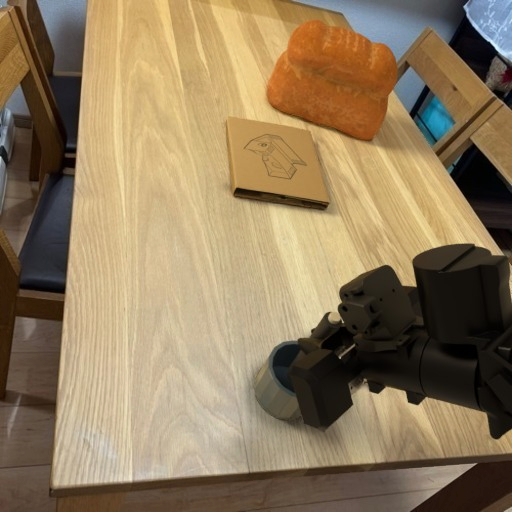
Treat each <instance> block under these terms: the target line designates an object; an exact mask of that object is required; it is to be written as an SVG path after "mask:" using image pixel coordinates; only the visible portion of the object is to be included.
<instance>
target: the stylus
mask: <svg viewBox="0 0 512 512" xmlns="http://www.w3.org/2000/svg"><path fill="white" fill-rule="evenodd" d="M342 323H343V320H342V318H341V316H340V314H339V313H338V311H327V312H325V313H324V314H323V316H322V318H321V319H320V320H319V322H318V324H317V325H316V327H314V328H315V330H314V331H313V333H310V336H309V337H308V338H318V339H326V338H327V337H328V336H330V335H331V334H333V333H334V332H335V331H337V330H338V329H339V328H340V327H341V326H342ZM305 356H306V354H305V353H304V352H303V351H302V350H300V352H299V353H298V355H297V356H296V358H295V359H294V361H293V362H292V364H291V365H290V367H289V368H288V370H287V372H286V375H287V378H288V379H289V380H290V381H292V380H291V376H290V373H291V370H292V367H293V365H294V364H296V363H297V362H298V361H300V360H301V359H302V358H304V357H305Z"/></svg>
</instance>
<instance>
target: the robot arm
mask: <svg viewBox="0 0 512 512" xmlns="http://www.w3.org/2000/svg"><path fill="white" fill-rule="evenodd" d="M411 264H412V269H413V275H414V280H415V285H416V286H414V285H413V286H412V285H403V283H402V282H401V280H400V278H399V277H398V275H397V272H396V271H395V269H394V268H393V267H392V266H391V265H389V264H383V265H381V266H378V267H376V268H373V269H371V270H367V271H365V272H362V273H360V274H358V275H357V276H356V277H354V278H352V280H349V281H348V282H346V283H344V284H343V285H342V286H341V287H340V288H339V291H338V296H339V300H340V301H341V302H340V303H339V304H338V305H337V313H338V314H339V315H340V316H341V319H342V326H341V327H340V328H339V329H338V330H337V331H335V332H334V333H333V334H331V335H330V336H328V337H327V338H326V339H318V338H309V337H299V338H297V340H296V341H297V342H298V346H299V348H300V349H301V350H302V351H303V352H304V353H305V354H306V356H305V357H304V358H302V359H301V360H300V361H298V362H297V363H296V364H294V365H293V367H292V370H291V373H290V376H291V380H292V383H293V387H294V390H295V394H296V398H297V401H298V405H299V408H300V412H301V416H300V417H301V420H302V423H303V425H305V426H309V427H310V428H313V429H316V430H318V431H321V432H324V433H325V432H326V431H328V429H330V428H331V426H333V424H335V423H336V422H337V421H338V420H339V419H340V418H341V417H342V416H344V414H346V413H347V412H348V411H349V410H350V409H351V408H352V407H353V406H354V400H353V397H352V396H353V395H354V394H356V393H357V392H358V391H359V390H360V389H361V388H362V387H363V385H364V384H365V382H364V379H366V380H367V382H366V383H367V388H368V391H369V393H371V394H372V393H373V394H375V395H380V393H381V392H382V391H384V390H385V389H386V388H391V389H395V390H397V391H402V392H405V395H406V401H407V403H408V404H411V405H414V406H420V404H421V403H422V402H423V401H424V400H425V399H426V398H428V399H431V400H432V399H433V400H435V401H439V402H444V403H447V404H452V405H455V406H459V407H463V408H466V409H467V408H468V409H470V410H475V411H478V412H482V413H485V414H486V418H487V424H488V425H487V426H488V431H489V435H490V437H491V438H492V439H493V440H500V439H501V438H502V437H503V436H504V435H506V434H507V433H508V432H510V431H512V293H511V292H512V291H511V285H510V279H511V265H510V258H509V257H508V256H507V255H503V254H502V255H501V254H493V253H492V251H491V250H490V249H488V248H486V247H483V246H478V245H476V244H475V243H470V242H469V243H468V242H464V243H451V244H446V245H441V246H436V247H432V248H429V249H427V250H424V251H422V252H420V253H418V254H416V255H415V256H414V257H413V258H412V261H411ZM315 328H316V327H313V328H312V329H311V330H310V334H312V333H313V331H314V330H315Z"/></svg>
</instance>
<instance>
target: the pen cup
mask: <svg viewBox="0 0 512 512" xmlns="http://www.w3.org/2000/svg"><path fill="white" fill-rule="evenodd" d="M300 350H301V349H300V348H299V346H298V342H297V340H293V339H292V340H286V341H281V342H280V343H278V344H277V345H276V346H274V347H273V349H272V351H271V352H270V354H269V356H268V357H267V359H266V360H265V362H264V364H263V365H262V367H261V369H260V371H259V372H258V374H257V376H256V377H255V380H254V394H255V397H256V400H257V402H258V403H259V405H260V407H261V408H262V409H263V411H265V412H266V413H267V414H268V415H270V416H272V417H274V418H277V419H280V420H286V421H287V420H288V421H291V420H296V419H298V418H300V417H302V416H301V412H300V408H299V405H298V401H297V398H296V394H295V390H294V387H293V383H292V381H290V380H289V379H288V378H287V375H286V372H287V370H288V368H289V367H290V365H291V364H292V362H293V361H294V359H295V358H296V356H297V355H298V353H299V352H300Z"/></svg>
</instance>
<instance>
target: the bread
mask: <svg viewBox="0 0 512 512" xmlns="http://www.w3.org/2000/svg"><path fill="white" fill-rule="evenodd" d="M398 73H399V67H398V63H397V59H396V56H395V54H394V52H393V50H392V49H391V48H390V47H389V46H388V45H387V44H385V43H383V42H373V41H371V39H369V38H368V37H367V36H365V35H363V34H361V33H359V32H355V31H353V30H350V29H347V28H345V27H343V26H334V25H331V26H330V25H327V23H325V22H323V21H322V20H321V19H309V20H306V21H305V22H303V23H302V24H300V25H299V26H297V27H295V29H294V30H293V31H292V33H291V35H290V37H289V39H288V42H287V47H286V50H285V51H283V52H282V53H281V54H280V56H279V57H278V58H277V60H276V63H275V66H274V68H273V70H272V73H271V76H270V78H269V82H268V85H267V88H266V99H267V101H268V103H269V104H270V105H271V106H272V107H273V108H275V109H277V110H278V111H281V112H283V113H286V114H289V115H293V116H296V117H300V118H303V119H305V120H307V121H311V122H313V123H315V124H318V125H322V126H326V127H331V128H334V129H336V130H338V131H340V132H342V133H345V134H347V135H349V136H352V137H354V138H357V139H361V140H366V141H367V140H373V139H374V138H375V137H376V136H377V134H378V133H379V132H380V129H381V127H382V125H383V123H384V121H385V118H386V115H387V113H388V107H389V96H390V95H391V93H392V92H393V90H395V87H396V84H397V81H398Z"/></svg>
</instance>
